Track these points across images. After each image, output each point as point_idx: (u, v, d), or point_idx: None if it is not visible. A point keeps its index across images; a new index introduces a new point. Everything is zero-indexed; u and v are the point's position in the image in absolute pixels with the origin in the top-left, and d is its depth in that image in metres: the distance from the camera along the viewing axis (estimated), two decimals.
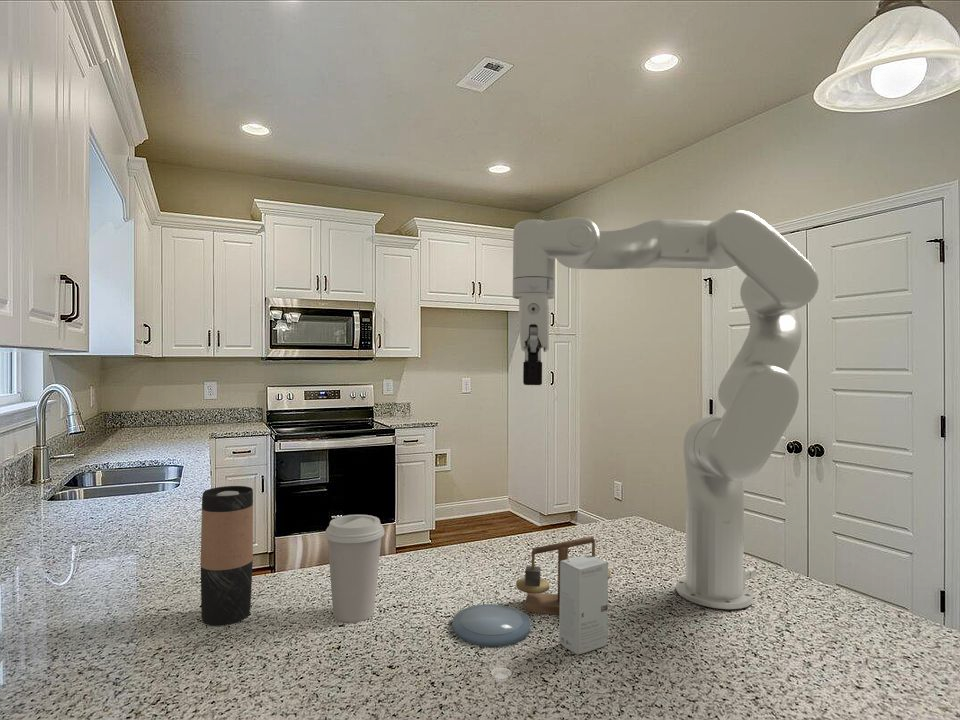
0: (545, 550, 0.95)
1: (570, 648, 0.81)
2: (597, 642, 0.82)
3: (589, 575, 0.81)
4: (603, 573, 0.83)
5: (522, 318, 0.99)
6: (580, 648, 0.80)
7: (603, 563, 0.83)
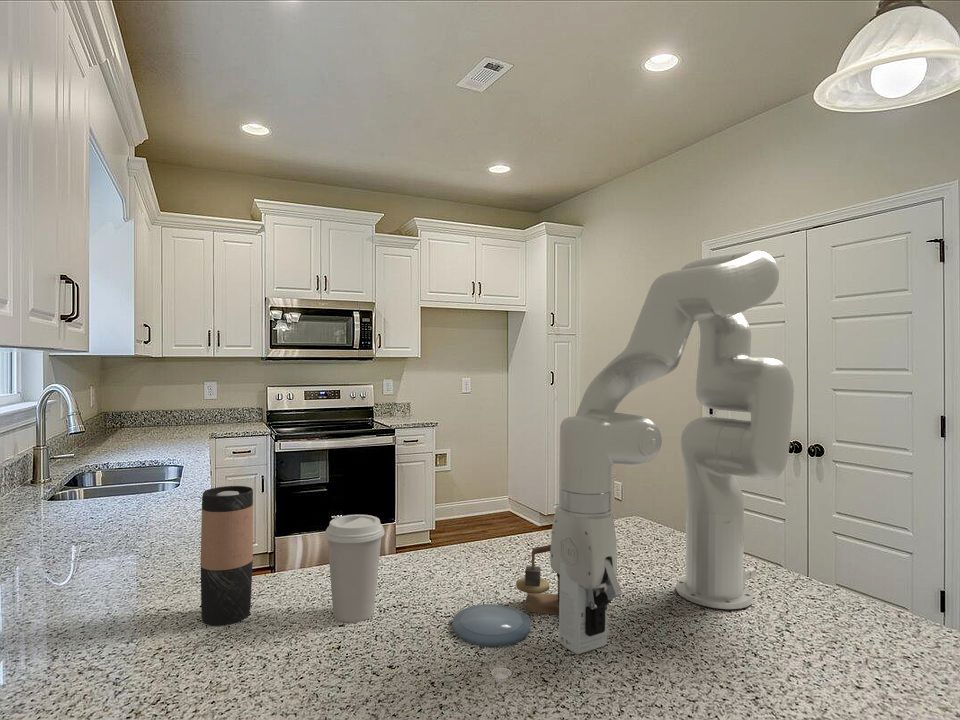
0: (545, 550, 0.95)
1: (570, 648, 0.81)
2: (596, 642, 0.82)
3: None
4: None
5: None
6: (580, 647, 0.80)
7: None
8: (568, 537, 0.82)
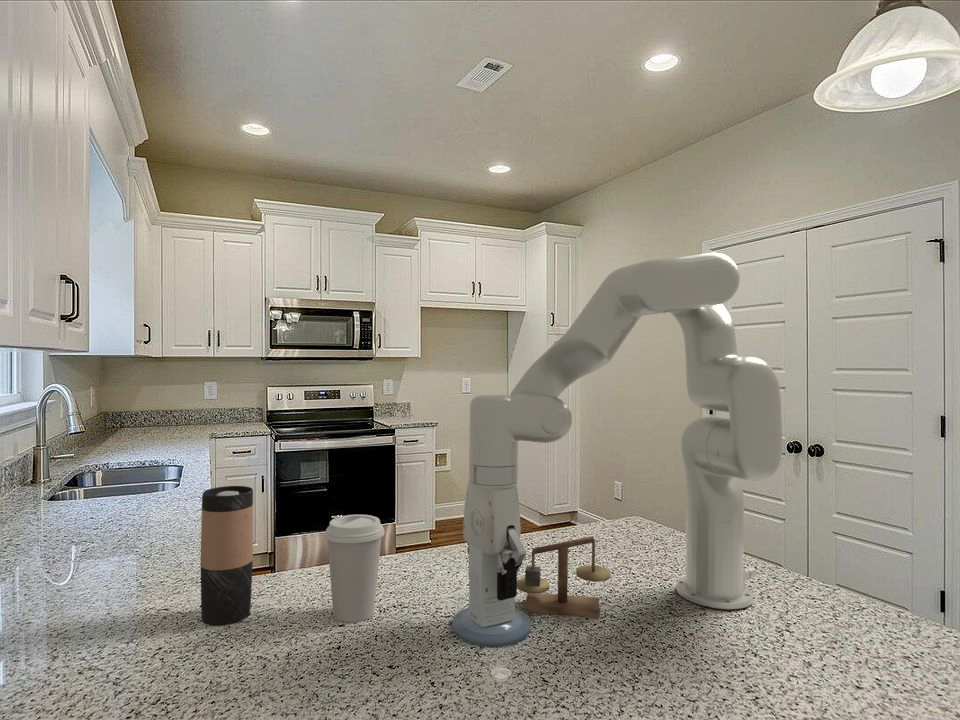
0: (545, 550, 0.95)
1: (477, 622, 0.86)
2: (503, 616, 0.87)
3: None
4: None
5: None
6: (485, 621, 0.85)
7: None
8: (476, 508, 0.87)
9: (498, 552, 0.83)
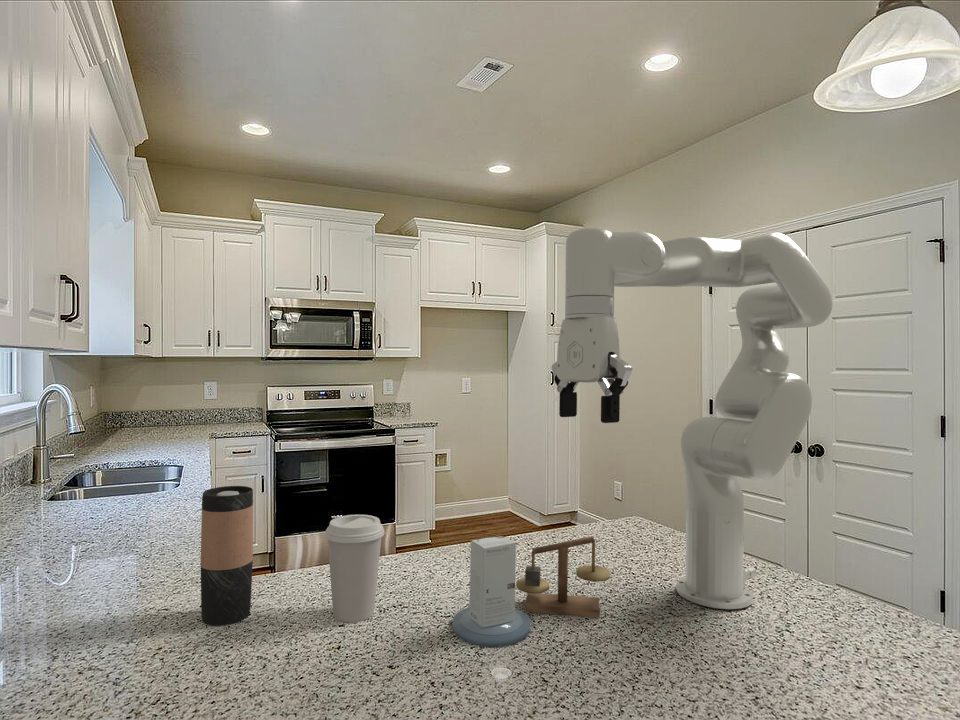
0: (545, 550, 0.95)
1: (477, 622, 0.86)
2: (503, 617, 0.87)
3: (495, 553, 0.86)
4: (510, 553, 0.88)
5: None
6: (485, 622, 0.85)
7: (510, 543, 0.88)
8: (574, 341, 0.88)
9: (600, 376, 0.84)
